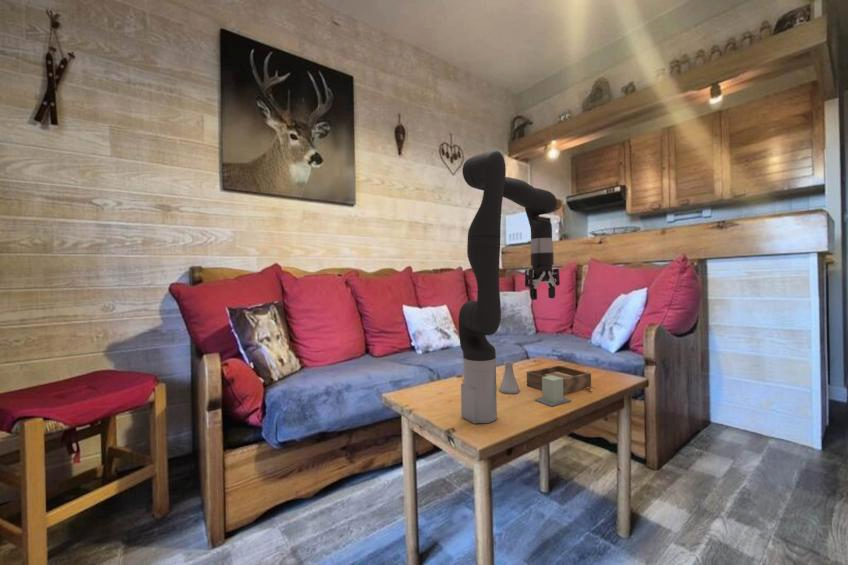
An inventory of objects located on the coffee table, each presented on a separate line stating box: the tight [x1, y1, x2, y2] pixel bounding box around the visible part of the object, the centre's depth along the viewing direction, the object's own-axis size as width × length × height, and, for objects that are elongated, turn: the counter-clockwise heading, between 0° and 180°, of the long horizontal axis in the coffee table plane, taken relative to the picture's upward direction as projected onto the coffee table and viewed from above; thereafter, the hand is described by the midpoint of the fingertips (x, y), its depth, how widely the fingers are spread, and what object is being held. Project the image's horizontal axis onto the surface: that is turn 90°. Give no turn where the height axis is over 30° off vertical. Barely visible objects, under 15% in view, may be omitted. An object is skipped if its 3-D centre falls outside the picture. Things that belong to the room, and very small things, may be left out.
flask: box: [498, 361, 521, 394], centre depth 125 cm, size 7×7×10 cm
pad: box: [534, 396, 572, 408], centre depth 114 cm, size 9×7×1 cm
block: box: [541, 375, 564, 403], centre depth 114 cm, size 4×4×7 cm
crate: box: [526, 364, 592, 396], centre depth 129 cm, size 17×14×5 cm
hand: (543, 298), depth 124 cm, fingers open, 8 cm apart
